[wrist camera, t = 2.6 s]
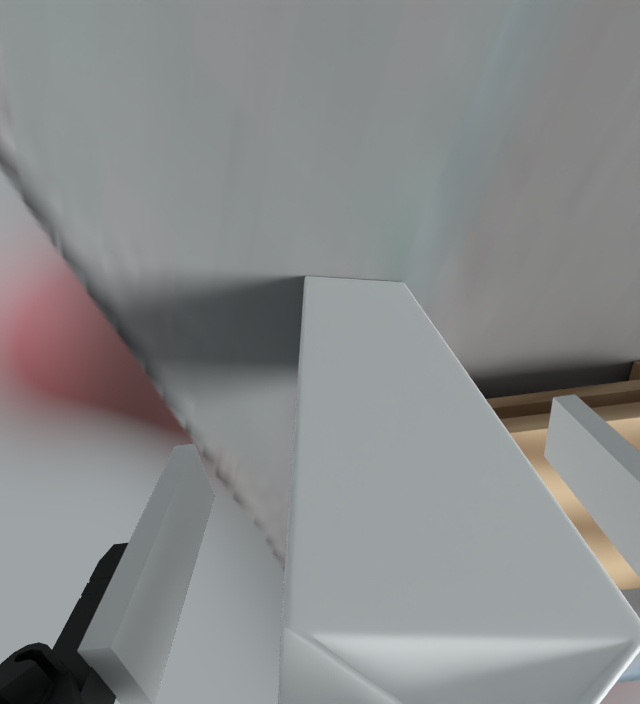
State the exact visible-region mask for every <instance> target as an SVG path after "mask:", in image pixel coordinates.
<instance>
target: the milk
mask: <svg viewBox="0 0 640 704" xmlns="http://www.w3.org/2000/svg"><path fill="white" fill-rule="evenodd" d="M281 619H282V620H281V644H280V668H279V694H278V704H599V703H600V702H601V701H602V699H603V698H604V697H605V696H606V694H607V693H608V692H609V690H610V689H611V688H612V686H613V685H614V684H615V683H616V681H617V680H618V679H619V677H620V676H621V675H622V674H623V672H624V671H625V670H626V668H627V667H628V666H629V664H630V663H631V662H632V661H633V659H634V658H635V657H636V655H637V654H638V653H639V651H640V619H639V617H638V616H637V614H636V613H635V611H634V610H633V609H632V607H631V606H630V604H629V603H628V601H627V600H626V599H625V597H624V596H623V594H622V593H621V591H620V590H619V589H618V587H617V586H616V584H615V583H614V581H613V580H612V579H611V577H610V576H609V574H608V573H607V572H606V570H605V569H604V567H603V566H602V564H601V563H600V562H599V560H598V559H597V557H596V556H595V554H594V553H593V552H592V550H591V549H590V547H589V546H588V544H587V543H586V542H585V540H584V539H583V537H582V536H581V534H580V533H579V532H578V530H577V529H576V527H575V526H574V524H573V523H572V522H571V520H570V519H569V517H568V516H567V514H566V513H565V512H564V510H563V509H562V507H561V506H560V505H559V503H558V502H557V500H556V499H555V497H554V496H553V495H552V493H551V492H550V490H549V489H548V487H547V486H546V485H545V483H544V482H543V480H542V479H541V477H540V476H539V475H538V473H537V472H536V470H535V469H534V467H533V466H532V465H531V463H530V462H529V460H528V459H527V457H526V456H525V455H524V453H523V452H522V450H521V449H520V447H519V446H518V445H517V443H516V442H515V440H514V439H513V438H512V436H511V435H510V433H509V432H508V430H507V429H506V428H505V426H504V425H503V423H502V422H501V420H500V419H499V418H498V416H497V415H496V413H495V412H494V410H493V409H492V408H491V406H490V405H489V403H488V402H487V400H486V399H485V398H484V396H483V395H482V393H481V392H480V390H479V389H478V388H477V386H476V385H475V383H474V382H473V380H472V379H471V378H470V376H469V375H468V373H467V372H466V371H465V369H464V368H463V366H462V365H461V363H460V362H459V361H458V359H457V358H456V356H455V355H454V353H453V352H452V351H451V349H450V348H449V346H448V345H447V343H446V342H445V341H444V339H443V338H442V336H441V335H440V333H439V332H438V331H437V329H436V328H435V326H434V325H433V323H432V322H431V321H430V319H429V318H428V316H427V315H426V314H425V312H424V311H423V309H422V308H421V306H420V305H419V304H418V302H417V301H416V299H415V298H414V296H413V295H412V294H411V292H410V291H409V289H408V288H407V286H406V285H405V284H404V283H403V282H393V281H377V280H361V279H345V278H329V277H313V276H305V279H304V293H303V308H302V323H301V337H300V352H299V367H298V382H297V396H296V411H295V426H294V441H293V455H292V470H291V485H290V500H289V514H288V529H287V544H286V558H285V573H284V588H283V603H282V618H281Z"/></svg>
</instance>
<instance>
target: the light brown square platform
mask: <svg viewBox="0 0 640 704" xmlns="http://www.w3.org/2000/svg"><path fill="white" fill-rule="evenodd" d="M574 394H575V395H576V396H578V397H579V398H580V399H581V400H582V401H583V402H584V403H585V404H587V405H588V406H589V407H590V408H591V409H592V410H593V411H594V412H595V413H597V414H598V415H599V416H600V417H601V418H602V419H603V420H604V421H606V422H607V423H608V424H609V425H610V426H611V427H612V428H613V429H614V430H616V431H617V432H618V433H619V434H620V435H621V436H622V437H623V438H625V439H626V440H627V441H628V442H629V443H630V444H631V445H632V446H633V447H635V448H636V449H637V450H638V451H639V452H640V361H634V363H633V366H632V370H631V374H630V377H629V381H624V382H616V383H608V384H601V385H593V386H585V387H577V388H569V389H561V390H554V391H546V392H538V393H530V394H522V395H515V396H507V397H499V398H491V399H486V400H487V402H488V403H489V405H490V406H491V408H492V409H493V410H494V412H495V413H496V415H497V416H498V418H499V419H500V420H501V422H502V423H503V425H504V426H505V428H506V429H507V430H508V432H509V433H510V435H511V436H512V438H513V439H514V440H515V442H516V443H517V445H518V446H519V447H520V449H521V450H522V452H523V453H524V455H525V456H526V457H527V459H528V460H529V462H530V463H531V465H532V466H533V467H534V469H535V470H536V472H537V473H538V475H539V476H540V477H541V479H542V480H543V482H544V483H545V485H546V486H547V487H548V489H549V490H550V492H551V493H552V495H553V496H554V497H555V499H556V500H557V502H558V503H559V505H560V506H561V507H562V509H563V510H564V512H565V513H566V514H567V516H568V517H569V519H570V520H571V522H572V523H573V524H574V526H575V527H576V529H577V530H578V532H579V533H580V534H581V536H582V537H583V539H584V540H585V542H586V543H587V544H588V546H589V547H590V549H591V550H592V552H593V553H594V554H595V556H596V557H597V559H598V560H599V562H600V563H601V564H602V566H603V567H604V569H605V570H606V572H607V573H608V574H609V576H610V577H611V579H612V580H613V581H614V583H615V584H616V586H617V587H618V589H619V590H624V589H634V588H640V578H639V577H638V576H637V574H636V573H635V572H634V571H633V569H632V568H631V567H630V565H629V564H628V563H627V562H626V560H625V559H624V558H623V557H622V555H621V554H620V553H619V551H618V550H617V549H616V548H615V546H614V545H613V544H612V542H611V541H610V540H609V539H608V537H607V536H606V535H605V533H604V532H603V531H602V530H601V528H600V527H599V526H598V524H597V523H596V522H595V521H594V519H593V518H592V517H591V516H590V514H589V513H588V512H587V510H586V509H585V508H584V507H583V505H582V504H581V503H580V501H579V500H578V499H577V498H576V496H575V495H574V494H573V492H572V491H571V490H570V489H569V487H568V486H567V485H566V484H565V482H564V481H563V480H562V478H561V477H560V476H559V475H558V473H557V472H556V471H555V469H554V468H553V467H552V466H551V464H550V463H549V462H548V460H547V459H546V458H545V457H544V452H545V446H546V440H547V433H548V427H549V421H550V414H551V408H552V402H553V397H559V396H566V395H574Z"/></svg>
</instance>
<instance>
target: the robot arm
mask: <svg viewBox="0 0 640 704" xmlns="http://www.w3.org/2000/svg"><path fill="white" fill-rule="evenodd" d="M544 457H545V458H546V459H547V460H548V462H549V463H550V464H551V466H552V467H553V468H554V469H555V471H556V472H557V473H558V475H559V476H560V477H561V478H562V480H563V481H564V482H565V484H566V485H567V486H568V487H569V489H570V490H571V491H572V492H573V494H574V495H575V496H576V498H577V499H578V500H579V501H580V503H581V504H582V505H583V507H584V508H585V509H586V510H587V512H588V513H589V514H590V516H591V517H592V518H593V519H594V521H595V522H596V523H597V524H598V526H599V527H600V528H601V530H602V531H603V532H604V533H605V535H606V536H607V537H608V539H609V540H610V541H611V542H612V544H613V545H614V546H615V548H616V549H617V550H618V551H619V553H620V554H621V555H622V557H623V558H624V559H625V560H626V562H627V563H628V564H629V565H630V567H631V568H632V569H633V571H634V572H635V573H636V574H637V576H638V577H639V578H640V452H639V451H638V450H637V449H636V448H635V447H633V446H632V445H631V444H630V443H629V442H628V441H627V440H626V439H625V438H623V437H622V436H621V435H620V434H619V433H618V432H617V431H616V430H614V429H613V428H612V427H611V426H610V425H609V424H608V423H607V422H606V421H604V420H603V419H602V418H601V417H600V416H599V415H598V414H597V413H595V412H594V411H593V410H592V409H591V408H590V407H589V406H588V405H587V404H585V403H584V402H583V401H582V400H581V399H580V398H579V397H578V396H576V395H575V394H574V395H566V396H559V397H553V402H552V408H551V414H550V421H549V427H548V433H547V440H546V446H545V452H544ZM214 497H215V496H214V493H213V491H212V488H211V485H210V483H209V480H208V478H207V475H206V472H205V470H204V467H203V464H202V462H201V459H200V456H199V454H198V451H197V449H196V446H195V444H189V445H181V446H175V447H174V449H173V451H172V453H171V455H170V457H169V460H168V461H167V464H166V466H165V468H164V470H163V472H162V474H161V476H160V478H159V481H158V483H157V485H156V487H155V489H154V491H153V493H152V495H151V497H150V500H149V502H148V503H147V506H146V508H145V510H144V512H143V514H142V516H141V518H140V520H139V522H138V525H137V526H136V529H135V531H134V533H133V535H132V537H131V539H130V541H129V543H123V544H114V545H113V546H112V547H111V548H110V550H109V551H108V552H107V553H106V554H105V555H104V556H103V557H102V559H101V560H100V561H99V562H98V564H97V566H96V568H95V570H94V572H93V574H92V576H91V577H90V582H89V583H87V585H86V587H85V589H84V591H83V593H82V594H81V595H82V597H81V599H79V600H78V602H77V604H76V606H75V608H74V610H73V611H72V613H71V615H70V617H69V619H68V621H67V623H66V625H65V627H64V628H63V631H62V633H61V634H60V636H59V638H58V640H57V642H56V644H55V646H54V647H53V649H52V650H51V649H50V647H49V646H48V645H46V644H42V643H34V644H30V645H27V646H25V647H23V648H21V649H20V650H18V651H16V652H14V653H13V654H12V655H11V656H9V657H8V658H7V659H6V660H5V661H4V662H2V663H1V664H0V704H114V702H115V699H117V700H118V701H119V702H120V704H155V701H156V698H157V694H158V691H159V687H160V684H161V680H162V677H163V673H164V670H165V667H166V663H167V659H168V656H169V653H170V649H171V646H172V642H173V639H174V635H175V632H176V628H177V625H178V621H179V618H180V614H181V611H182V608H183V604H184V601H185V597H186V594H187V590H188V587H189V583H190V580H191V576H192V573H193V569H194V566H195V563H196V559H197V556H198V552H199V549H200V545H201V542H202V538H203V535H204V531H205V528H206V524H207V521H208V517H209V514H210V510H211V507H212V504H213V500H214Z"/></svg>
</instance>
